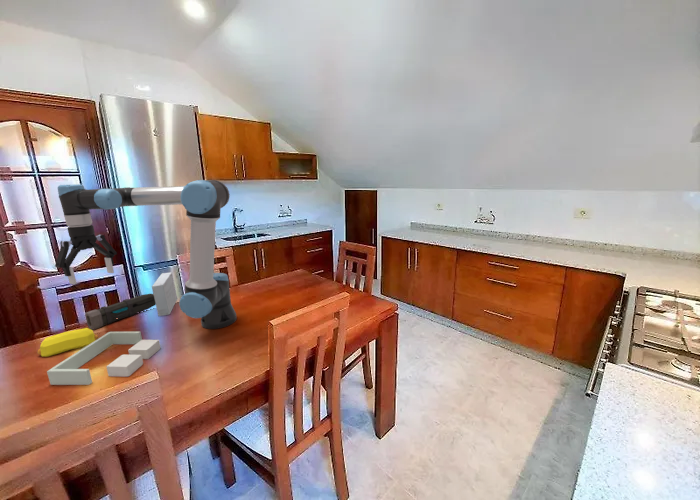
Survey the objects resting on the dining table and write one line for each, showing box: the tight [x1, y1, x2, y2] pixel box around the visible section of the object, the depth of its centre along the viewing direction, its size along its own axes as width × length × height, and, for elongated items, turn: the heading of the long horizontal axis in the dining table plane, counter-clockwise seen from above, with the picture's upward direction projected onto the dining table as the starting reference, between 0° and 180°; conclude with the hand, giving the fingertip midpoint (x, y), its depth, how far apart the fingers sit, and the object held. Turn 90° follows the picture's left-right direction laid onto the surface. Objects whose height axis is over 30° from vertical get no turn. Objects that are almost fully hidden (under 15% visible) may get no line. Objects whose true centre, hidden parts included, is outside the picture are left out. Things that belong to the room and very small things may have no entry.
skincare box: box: [151, 272, 178, 317], centre depth 153 cm, size 21×5×16 cm, turn 20°
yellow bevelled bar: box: [36, 327, 100, 358], centre depth 118 cm, size 18×7×8 cm
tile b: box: [106, 354, 144, 378], centre depth 104 cm, size 7×7×4 cm
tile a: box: [127, 339, 162, 360], centre depth 114 cm, size 7×7×4 cm
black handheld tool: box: [84, 293, 156, 331], centre depth 144 cm, size 11×7×30 cm
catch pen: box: [46, 331, 143, 386], centre depth 109 cm, size 13×25×5 cm, turn 179°
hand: (93, 278), depth 119 cm, fingers open, 13 cm apart
